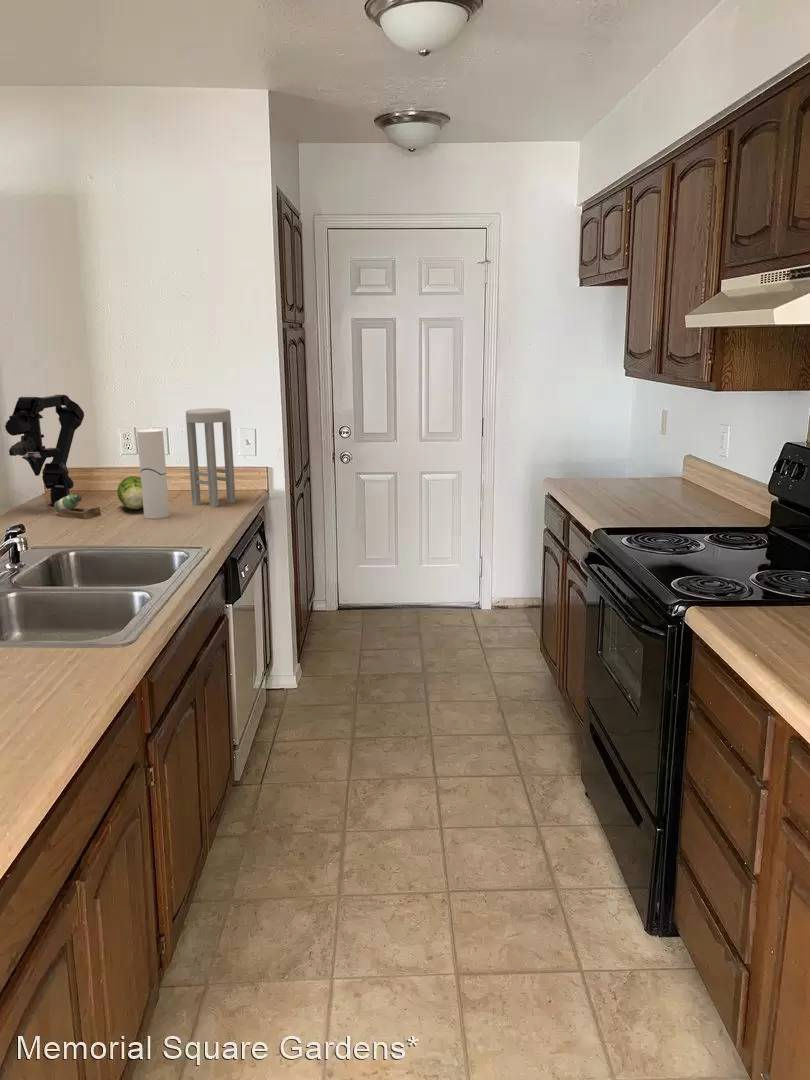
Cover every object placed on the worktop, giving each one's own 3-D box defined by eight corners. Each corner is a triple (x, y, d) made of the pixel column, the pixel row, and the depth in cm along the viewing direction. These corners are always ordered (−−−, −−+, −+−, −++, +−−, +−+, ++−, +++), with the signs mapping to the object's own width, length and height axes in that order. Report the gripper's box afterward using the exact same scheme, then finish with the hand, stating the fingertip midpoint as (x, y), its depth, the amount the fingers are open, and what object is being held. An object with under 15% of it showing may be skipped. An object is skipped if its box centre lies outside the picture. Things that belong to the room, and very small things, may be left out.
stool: (214, 509, 305) (208, 412, 297) (184, 504, 313) (177, 410, 305) (243, 501, 318) (238, 409, 310) (213, 498, 326) (207, 407, 318)
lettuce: (119, 516, 295) (116, 484, 292) (118, 505, 314) (115, 475, 311) (153, 513, 299) (151, 482, 296) (150, 503, 318) (147, 473, 315)
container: (162, 519, 289) (155, 432, 282) (139, 518, 291) (132, 431, 284) (173, 513, 298) (167, 429, 290) (151, 513, 299) (144, 429, 292)
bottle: (62, 499, 300) (80, 490, 296) (68, 511, 301) (86, 502, 296) (51, 502, 296) (69, 492, 292) (57, 514, 297) (75, 505, 292)
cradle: (73, 512, 301) (72, 504, 300) (100, 515, 297) (99, 506, 296) (59, 516, 295) (58, 508, 294) (86, 519, 291) (86, 510, 290)
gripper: (-6, 434, 294) (-1, 477, 298) (34, 435, 287) (40, 480, 291) (19, 430, 304) (24, 473, 308) (59, 432, 297) (63, 475, 301)
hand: (37, 475), depth 302 cm, fingers closed
